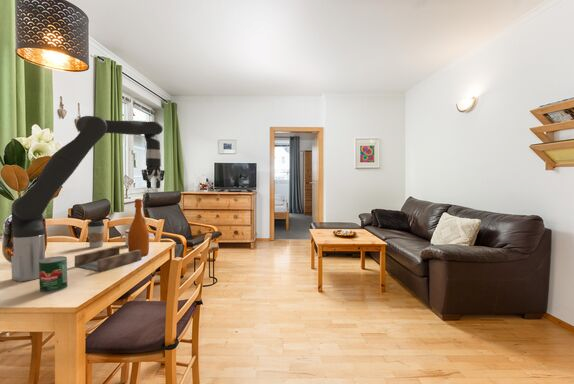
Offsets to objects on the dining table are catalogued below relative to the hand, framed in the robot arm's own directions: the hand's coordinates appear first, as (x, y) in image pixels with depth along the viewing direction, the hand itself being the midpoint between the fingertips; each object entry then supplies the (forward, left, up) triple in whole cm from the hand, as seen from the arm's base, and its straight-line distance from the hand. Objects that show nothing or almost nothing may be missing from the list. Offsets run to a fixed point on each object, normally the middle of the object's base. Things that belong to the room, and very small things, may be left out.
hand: (153, 188), depth 155 cm
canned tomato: (-55, -12, -36) cm, 67 cm away
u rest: (-26, 0, -36) cm, 44 cm away
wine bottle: (-10, 0, -36) cm, 37 cm away
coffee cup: (-8, +38, -36) cm, 53 cm away
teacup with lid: (+4, +24, -36) cm, 43 cm away
